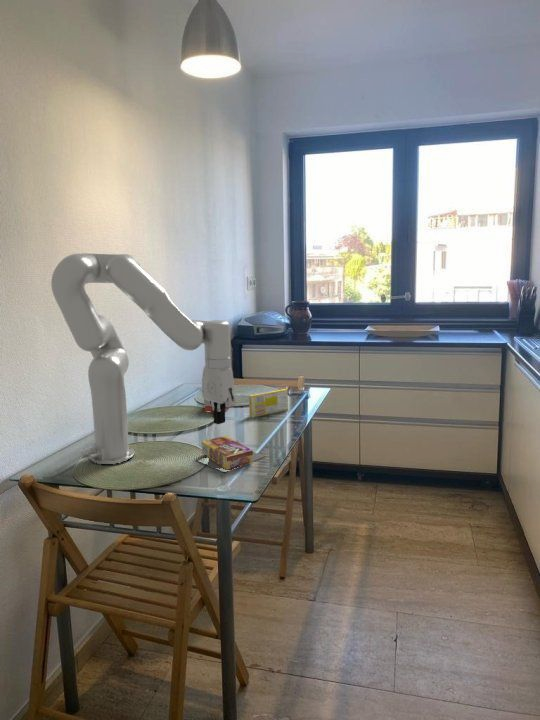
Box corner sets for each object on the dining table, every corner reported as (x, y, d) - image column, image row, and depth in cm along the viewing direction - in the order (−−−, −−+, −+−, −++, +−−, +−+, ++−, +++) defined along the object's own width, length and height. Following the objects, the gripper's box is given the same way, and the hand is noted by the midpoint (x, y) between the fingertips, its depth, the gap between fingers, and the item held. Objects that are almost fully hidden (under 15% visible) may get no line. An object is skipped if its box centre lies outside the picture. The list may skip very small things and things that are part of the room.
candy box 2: (285, 409, 209) (285, 388, 208) (288, 410, 208) (288, 389, 206) (248, 416, 201) (248, 394, 199) (251, 417, 199) (251, 396, 197)
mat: (224, 473, 151) (224, 472, 151) (196, 461, 159) (196, 460, 159) (265, 457, 162) (265, 456, 162) (236, 446, 170) (236, 445, 170)
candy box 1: (201, 454, 164) (226, 470, 151) (201, 441, 163) (225, 456, 151) (227, 448, 169) (253, 463, 156) (227, 435, 168) (253, 449, 155)
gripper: (191, 361, 162) (193, 420, 166) (225, 369, 152) (227, 431, 156) (211, 357, 167) (212, 414, 171) (245, 364, 157) (245, 425, 161)
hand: (219, 422), depth 163 cm, fingers closed
